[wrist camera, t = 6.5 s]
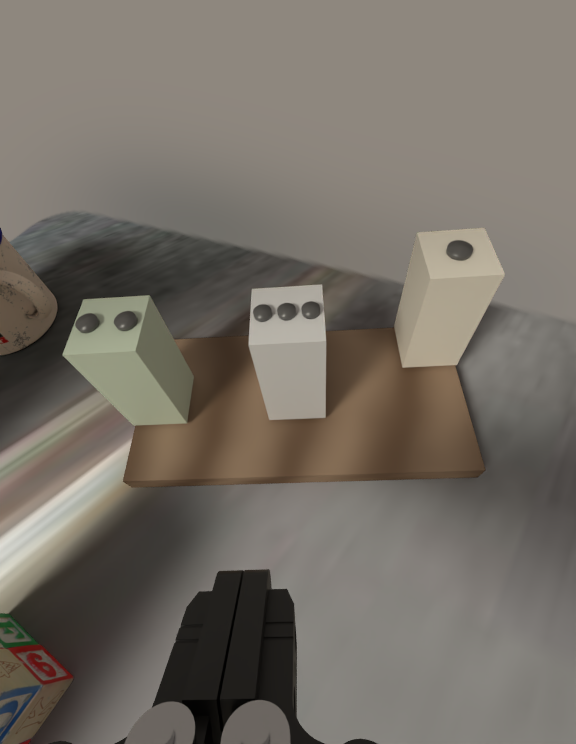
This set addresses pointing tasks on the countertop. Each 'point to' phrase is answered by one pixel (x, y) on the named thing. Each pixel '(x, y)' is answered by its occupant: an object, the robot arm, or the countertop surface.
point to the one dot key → (445, 295)
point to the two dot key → (131, 359)
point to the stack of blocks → (26, 683)
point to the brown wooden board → (311, 421)
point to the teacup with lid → (22, 302)
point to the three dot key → (289, 350)
